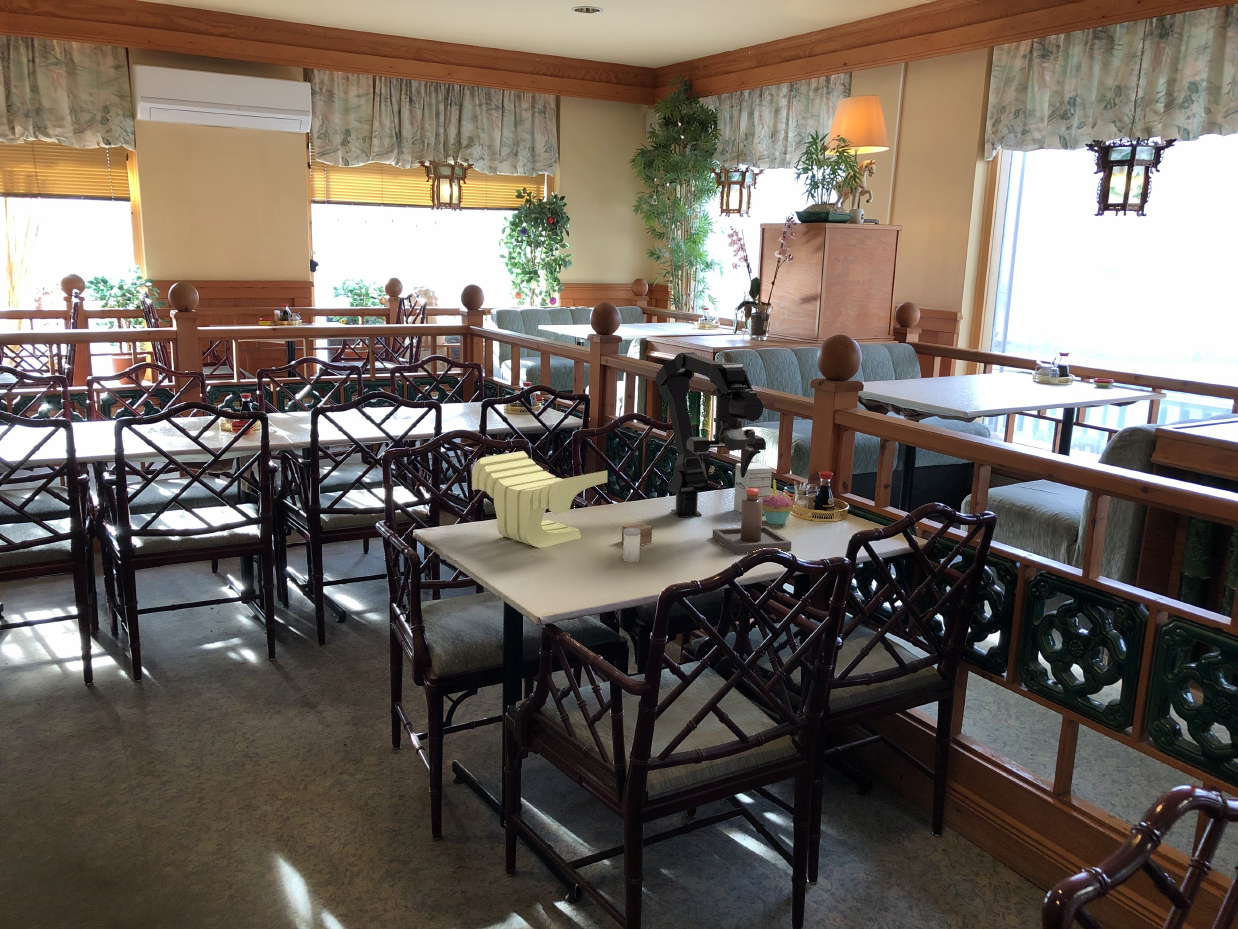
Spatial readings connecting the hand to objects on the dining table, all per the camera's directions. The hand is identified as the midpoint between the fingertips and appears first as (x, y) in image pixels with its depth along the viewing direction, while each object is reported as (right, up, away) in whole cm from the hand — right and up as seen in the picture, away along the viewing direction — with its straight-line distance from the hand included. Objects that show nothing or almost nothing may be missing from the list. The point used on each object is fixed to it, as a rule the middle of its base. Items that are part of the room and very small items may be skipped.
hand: (725, 478), depth 237 cm
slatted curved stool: (-45, -14, -7) cm, 48 cm away
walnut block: (-22, -15, -9) cm, 28 cm away
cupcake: (+14, -12, +11) cm, 21 cm away
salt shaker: (-23, -18, -23) cm, 37 cm away
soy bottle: (+5, -14, -9) cm, 18 cm away
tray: (+5, -15, -9) cm, 18 cm away
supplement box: (+9, -9, +20) cm, 24 cm away
